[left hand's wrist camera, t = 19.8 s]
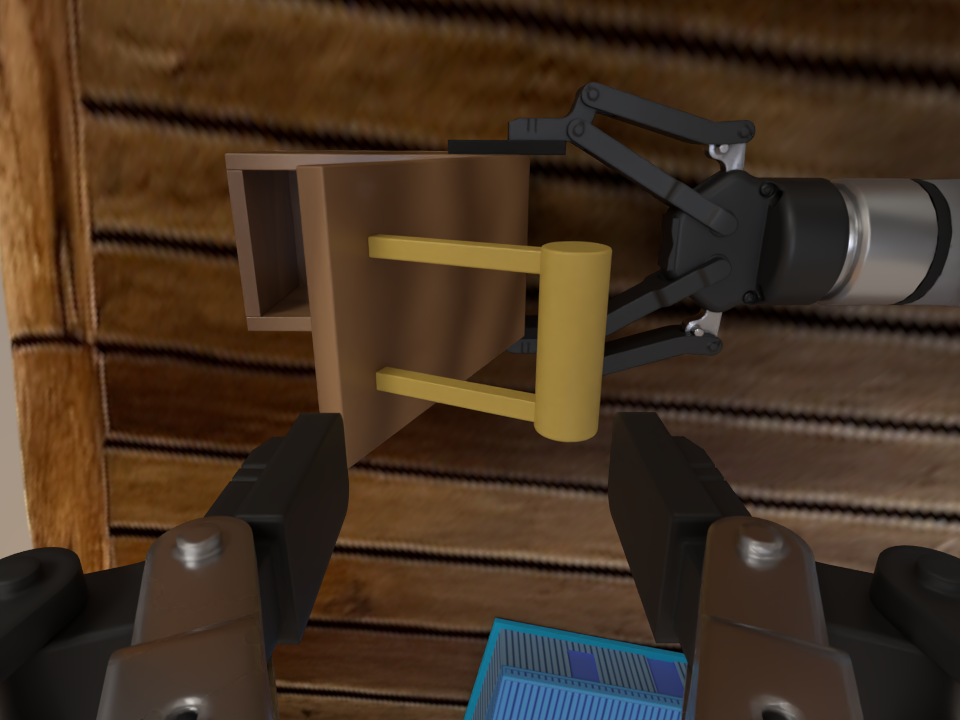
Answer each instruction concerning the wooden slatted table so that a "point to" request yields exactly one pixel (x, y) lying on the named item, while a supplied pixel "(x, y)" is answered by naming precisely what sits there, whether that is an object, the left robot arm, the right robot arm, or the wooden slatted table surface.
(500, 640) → the model building
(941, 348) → the wooden slatted table surface
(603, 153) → the right robot arm
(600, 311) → the lid
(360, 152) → the chest
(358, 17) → the wooden slatted table surface
